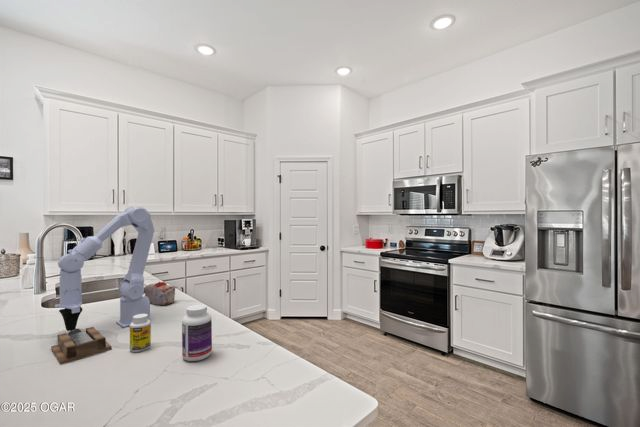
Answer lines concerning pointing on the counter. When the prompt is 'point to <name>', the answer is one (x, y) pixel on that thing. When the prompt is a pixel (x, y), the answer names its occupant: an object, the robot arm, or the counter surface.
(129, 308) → the robot arm
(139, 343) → the supplement bottle
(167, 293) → the food item
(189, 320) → the pill bottle
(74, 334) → the door stop
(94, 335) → the housing
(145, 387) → the counter surface
